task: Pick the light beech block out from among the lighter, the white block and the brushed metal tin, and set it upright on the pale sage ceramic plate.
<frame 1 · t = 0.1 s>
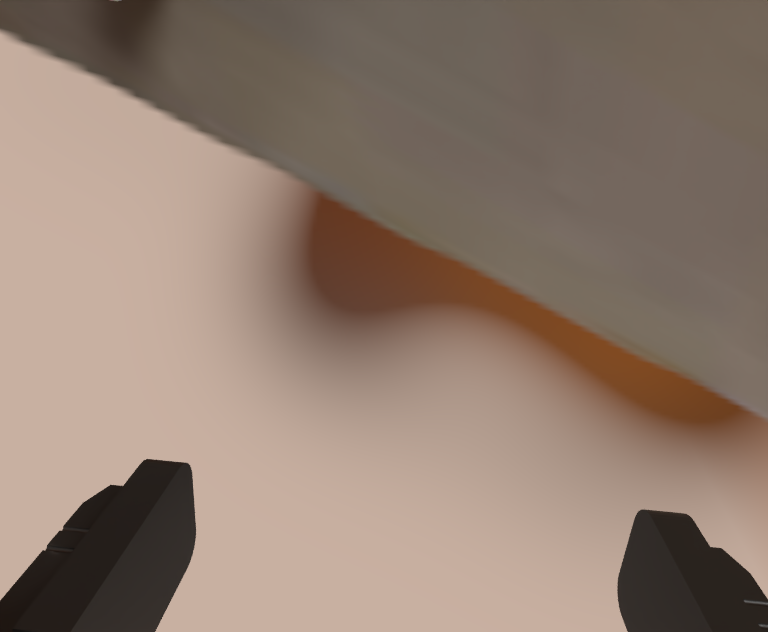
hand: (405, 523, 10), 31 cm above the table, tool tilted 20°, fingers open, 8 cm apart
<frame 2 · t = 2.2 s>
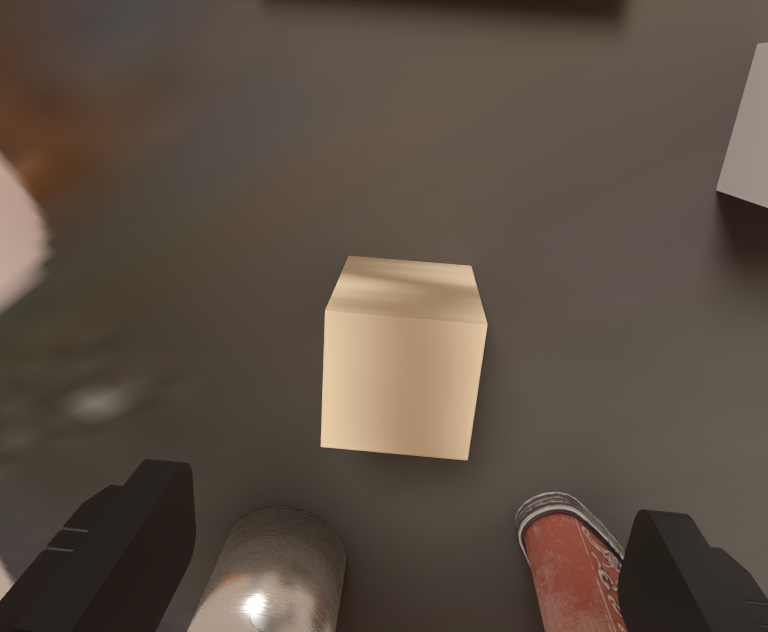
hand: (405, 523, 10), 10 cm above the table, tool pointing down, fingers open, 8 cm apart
lighter: (582, 562, 23), on the table
beech block: (404, 317, 19), on the table
metal tin: (286, 554, 24), on the table
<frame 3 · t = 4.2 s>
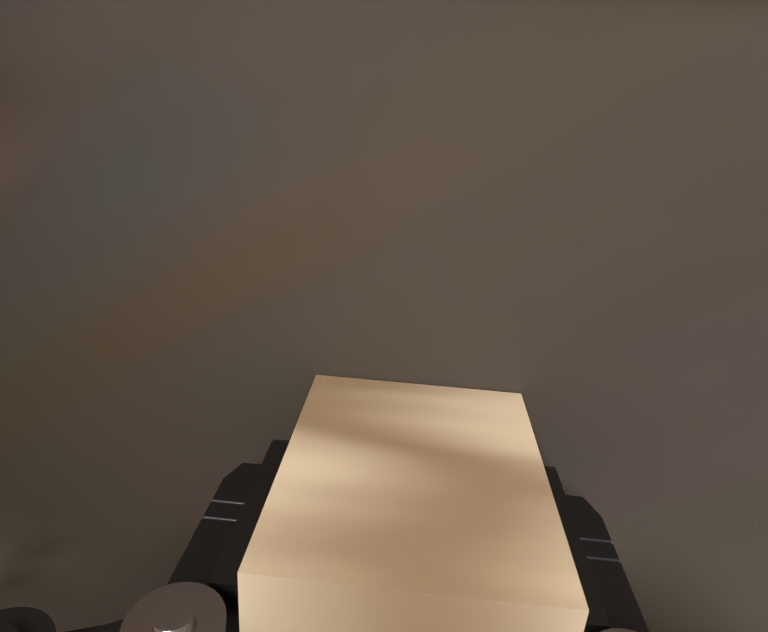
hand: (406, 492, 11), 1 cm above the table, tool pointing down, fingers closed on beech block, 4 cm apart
beech block: (409, 469, 12), on the table, touching gripper
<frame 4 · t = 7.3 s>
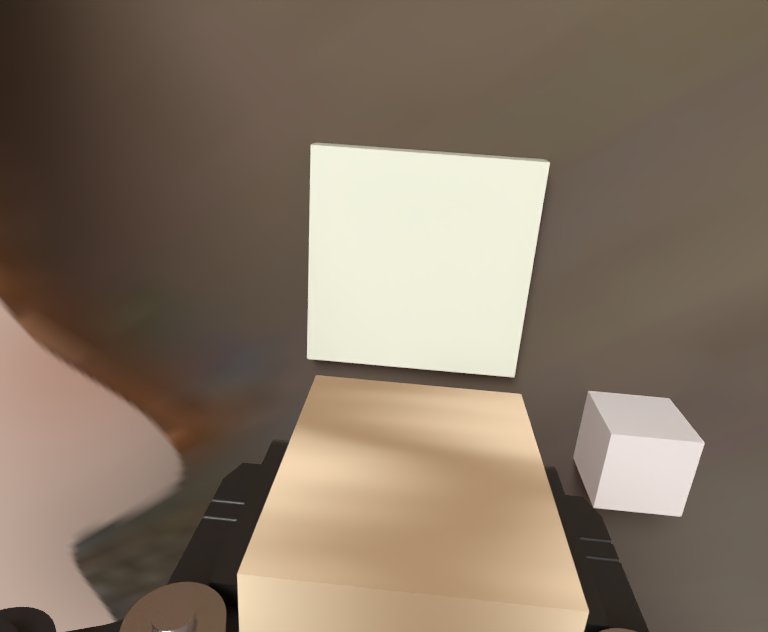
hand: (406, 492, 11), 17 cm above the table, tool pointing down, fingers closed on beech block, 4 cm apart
beech block: (409, 469, 12), point 16 cm above the table, touching gripper
plate: (419, 261, 27), on the table
white block: (619, 428, 29), on the table
when the fingers open (3 cm above the table, at t = 10.4 s): beech block drops 1 cm, resting on plate.
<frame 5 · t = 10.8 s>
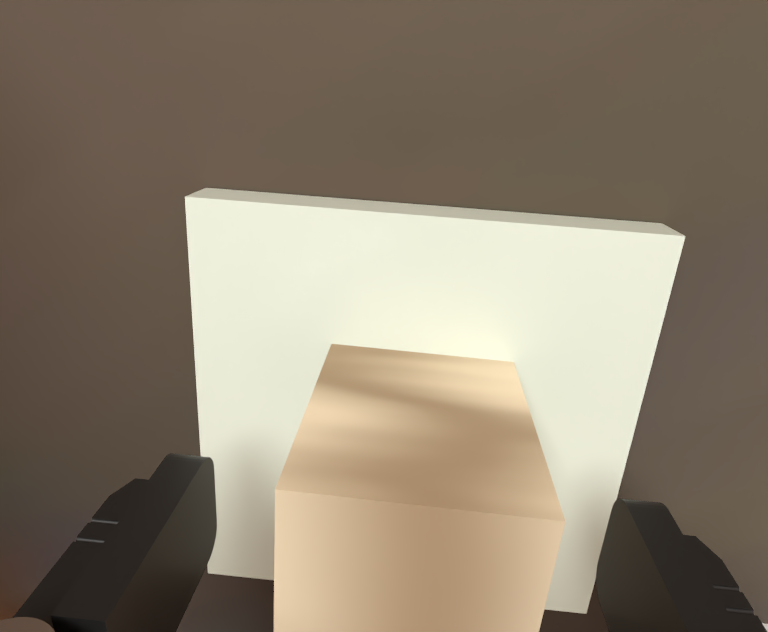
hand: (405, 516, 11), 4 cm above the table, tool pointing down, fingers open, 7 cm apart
beech block: (413, 430, 13), point 1 cm above the table, touching plate
plate: (411, 404, 14), on the table
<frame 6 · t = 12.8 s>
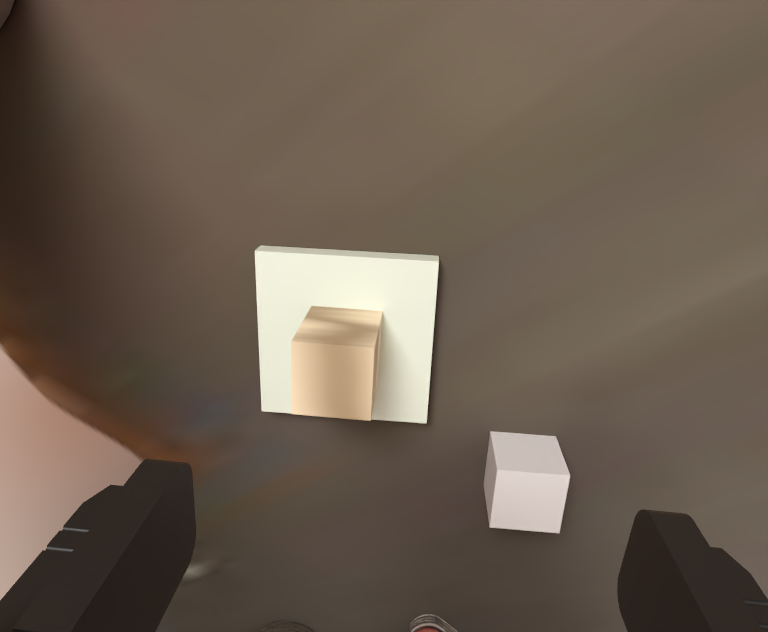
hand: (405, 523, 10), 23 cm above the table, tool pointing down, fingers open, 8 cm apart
beech block: (346, 341, 33), point 1 cm above the table, touching plate
plate: (347, 333, 34), on the table
white block: (518, 460, 36), on the table
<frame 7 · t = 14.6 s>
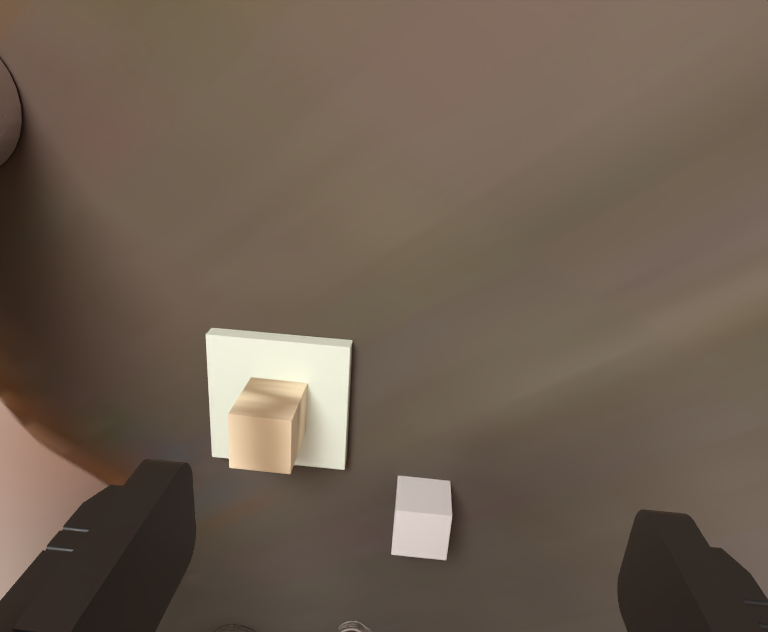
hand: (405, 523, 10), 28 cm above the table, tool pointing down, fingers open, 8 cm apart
beech block: (278, 404, 41), point 1 cm above the table, touching plate
plate: (281, 396, 42), on the table
white block: (421, 498, 45), on the table
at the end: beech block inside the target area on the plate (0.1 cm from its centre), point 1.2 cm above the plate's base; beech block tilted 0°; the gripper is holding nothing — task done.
